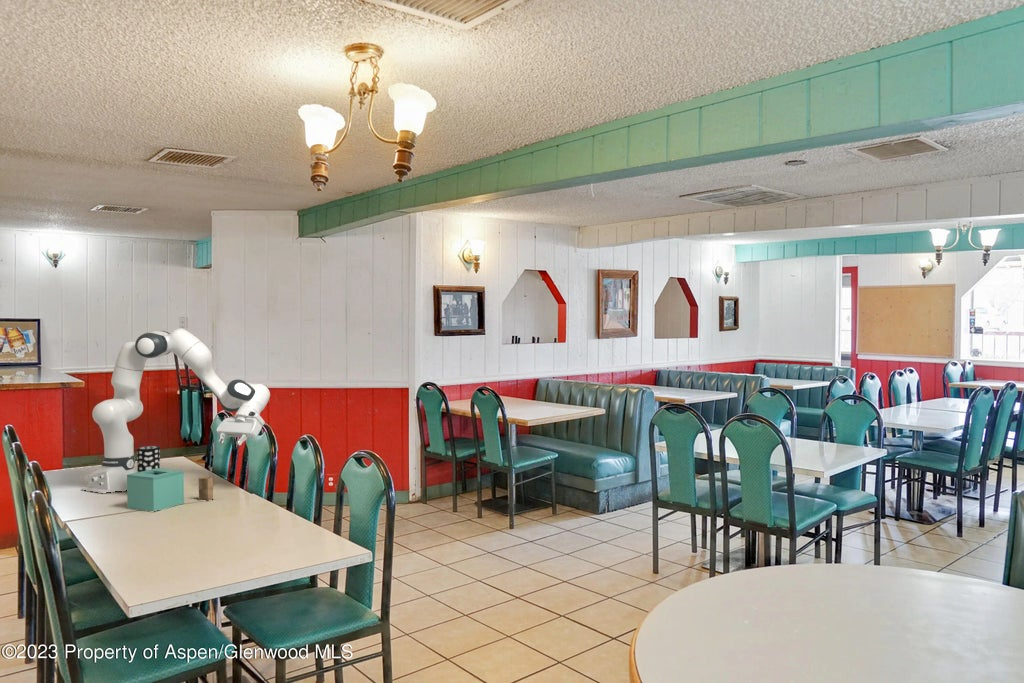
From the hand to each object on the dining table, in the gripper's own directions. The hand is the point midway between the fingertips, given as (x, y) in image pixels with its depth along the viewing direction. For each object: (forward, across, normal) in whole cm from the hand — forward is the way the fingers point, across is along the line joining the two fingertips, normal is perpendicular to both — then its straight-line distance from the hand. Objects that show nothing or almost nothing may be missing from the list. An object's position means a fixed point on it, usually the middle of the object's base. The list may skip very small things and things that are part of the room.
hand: (229, 443), depth 304 cm
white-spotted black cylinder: (+26, -27, +3) cm, 38 cm away
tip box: (+34, -11, -5) cm, 36 cm away
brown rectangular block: (+24, 0, +6) cm, 24 cm away
